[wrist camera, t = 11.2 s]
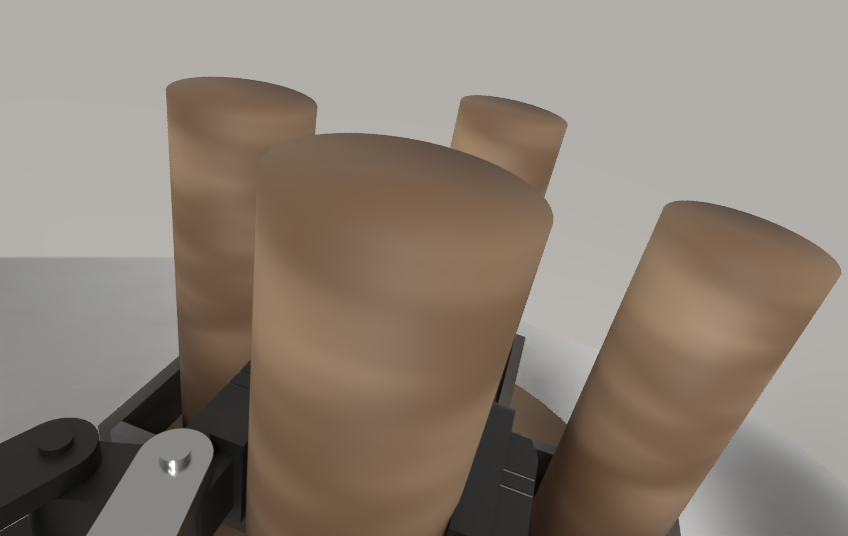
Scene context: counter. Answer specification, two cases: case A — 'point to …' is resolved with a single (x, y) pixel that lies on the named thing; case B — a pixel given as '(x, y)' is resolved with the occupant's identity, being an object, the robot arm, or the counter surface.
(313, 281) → the loose leg
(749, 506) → the counter surface
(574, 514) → the stool seat
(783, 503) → the counter surface
